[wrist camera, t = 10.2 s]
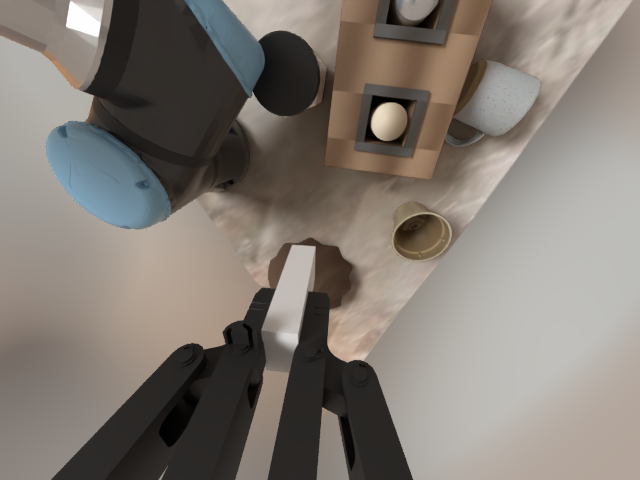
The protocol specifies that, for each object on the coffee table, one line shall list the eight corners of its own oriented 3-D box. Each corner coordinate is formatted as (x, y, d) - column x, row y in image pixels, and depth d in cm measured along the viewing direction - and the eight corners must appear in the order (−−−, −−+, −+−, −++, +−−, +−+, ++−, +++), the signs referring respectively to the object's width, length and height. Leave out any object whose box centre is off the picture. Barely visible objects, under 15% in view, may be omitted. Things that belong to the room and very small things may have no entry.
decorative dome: (370, 272, 55) (375, 304, 46) (316, 315, 63) (311, 349, 55) (304, 220, 50) (295, 246, 41) (255, 275, 59) (239, 305, 50)
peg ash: (363, 129, 38) (368, 138, 29) (368, 100, 36) (376, 100, 27) (388, 132, 38) (401, 143, 29) (395, 103, 36) (411, 104, 27)
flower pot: (409, 245, 50) (420, 271, 43) (374, 221, 48) (379, 243, 41) (445, 212, 46) (465, 234, 38) (409, 183, 44) (422, 200, 36)
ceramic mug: (467, 59, 34) (494, 50, 28) (518, 79, 35) (557, 76, 28) (427, 135, 40) (442, 143, 33) (471, 152, 40) (495, 163, 34)
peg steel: (379, 41, 33) (392, 17, 23) (386, 1, 31) (403, -43, 21) (408, 44, 33) (433, 22, 23) (417, 5, 31) (449, -38, 21)
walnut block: (330, 149, 42) (323, 166, 31) (352, -41, 30) (355, -120, 19) (410, 159, 42) (432, 180, 31) (464, -30, 30) (531, -104, 19)
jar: (338, 78, 37) (336, 73, 27) (305, 123, 40) (293, 133, 30) (292, 30, 34) (270, 4, 24) (261, 82, 38) (231, 78, 28)
